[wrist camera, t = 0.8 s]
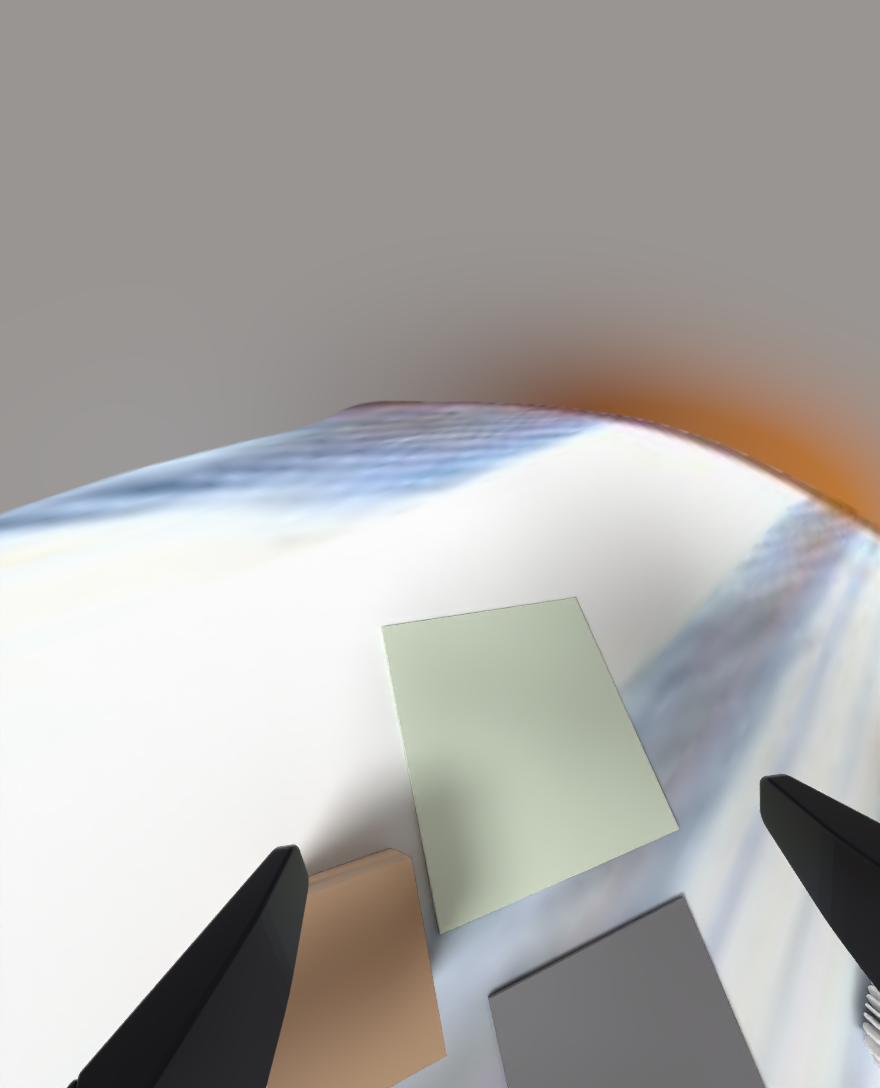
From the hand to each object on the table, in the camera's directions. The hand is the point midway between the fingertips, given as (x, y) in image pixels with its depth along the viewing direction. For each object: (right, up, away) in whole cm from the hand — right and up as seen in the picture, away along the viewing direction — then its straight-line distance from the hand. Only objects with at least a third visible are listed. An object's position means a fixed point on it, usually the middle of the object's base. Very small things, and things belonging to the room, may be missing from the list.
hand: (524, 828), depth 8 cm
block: (-6, -11, +9) cm, 15 cm away
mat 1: (+3, -5, +15) cm, 17 cm away
